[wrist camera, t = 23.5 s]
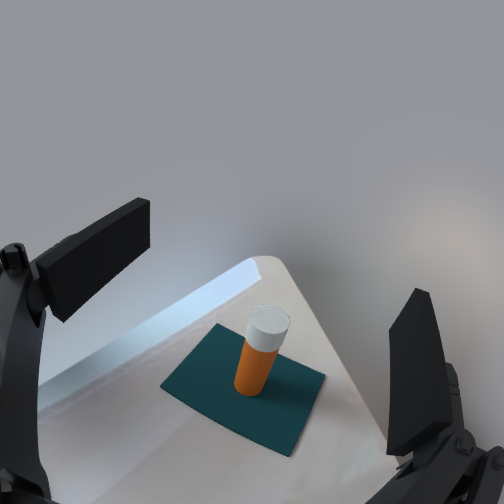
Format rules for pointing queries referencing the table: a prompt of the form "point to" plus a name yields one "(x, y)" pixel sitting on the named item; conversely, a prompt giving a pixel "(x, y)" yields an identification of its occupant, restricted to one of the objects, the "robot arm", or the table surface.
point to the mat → (240, 406)
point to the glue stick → (260, 347)
